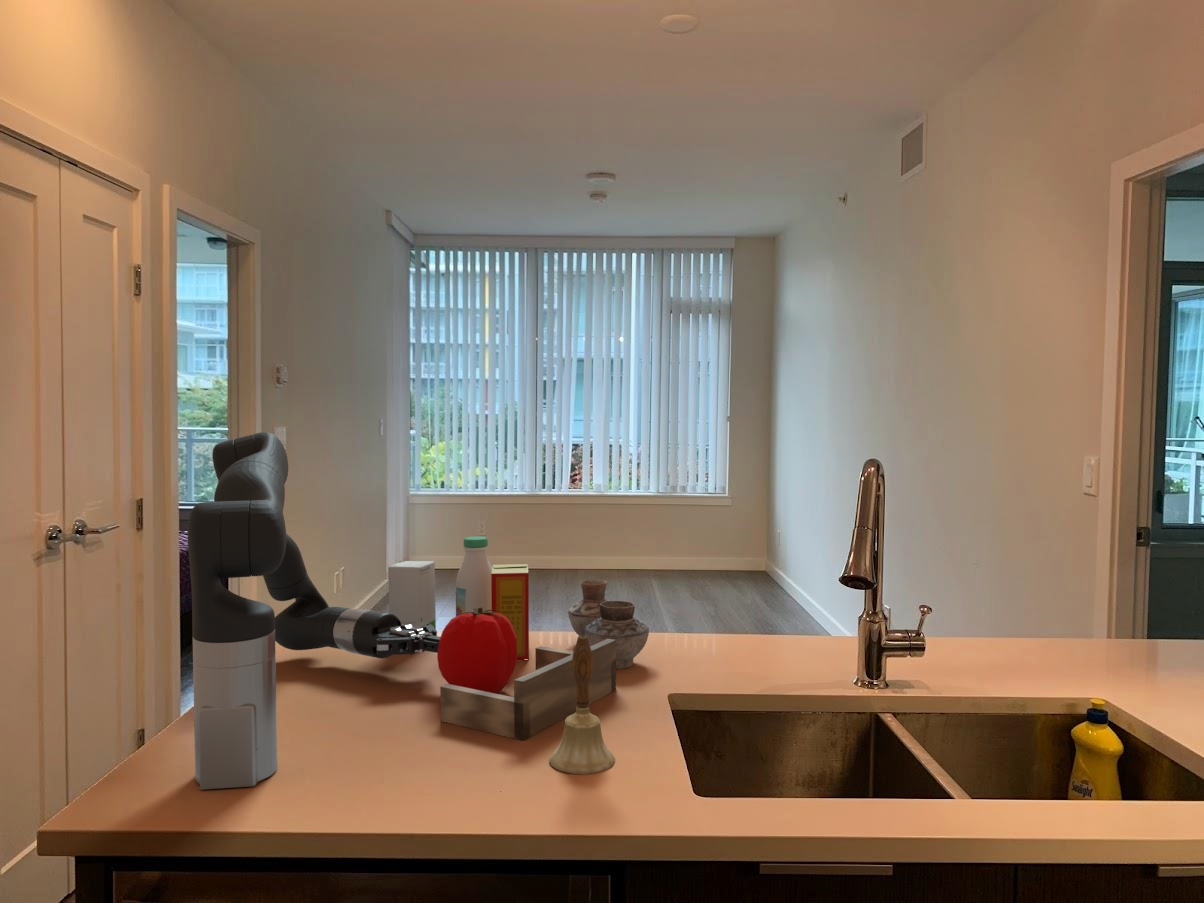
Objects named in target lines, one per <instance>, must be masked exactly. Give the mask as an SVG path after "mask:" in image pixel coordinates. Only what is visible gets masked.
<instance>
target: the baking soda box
mask: <svg viewBox="0 0 1204 903" xmlns="http://www.w3.org/2000/svg"><path fill="white" fill-rule="evenodd" d="M491 567H492V573H491V596H492V609H493V610H495V611H492V612H494V613H500V614H502V615H504V616H505V617H507V618H508V619H509V621H510V622H511V624H512V625H513V628H514V630H515V633H516V636H517V660H523V661H525V660H524V659H528V660H527V661H530V644H529V643H530V641H529V640H530V637H529V636H530V635H529V634H530V633H529V632H530V627H529V626H530V625H529V624H530V623H529V622H530V621H529V618H530V617H529V616H530V612H529V611H530V610H529V608H530V606H529V605H530V604H529V602H530V600H529V599H530V598H529V596H530V595H529V575H530V574H529V563H507V564H506V563H503V564H502V563H501V564H500V563H499V564H498V563H497V564H495V563H494V564H492V565H491ZM496 611H498V612H496Z"/></svg>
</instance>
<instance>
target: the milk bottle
mask: <svg viewBox="0 0 1204 903" xmlns="http://www.w3.org/2000/svg"><path fill="white" fill-rule="evenodd" d="M488 542H489V540H488V537H485V536H468V537H467V536H466V537H465V538H463V550H464V555H463V559H462V563H461V565H460V567H459V569H458V572H457V575H456V581H455V582H456V583H455V617H456V616H458V615H461V614H457V613H465V614H467V613H466V612H475V611H474V609H477V610H478V608H481V607H482V610H483V611H484V610H491V609H492V596H491V573H492V565H491V563H490V560H489V557H488V554H487V553H488V552H487V550H488V548H489V547H488V544H489V543H488ZM473 608H474V609H473ZM488 612H492V611H488ZM468 614H470V613H468Z"/></svg>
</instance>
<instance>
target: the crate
mask: <svg viewBox="0 0 1204 903" xmlns="http://www.w3.org/2000/svg"><path fill="white" fill-rule="evenodd" d="M590 647H591V651H592V655H593V669H592V675H591V678H590V682H589V705H591V704H593V703H595V702H597V701H598V700H600V699H601V698H604V697H606V696H607V695H609V694H612V693H614V692H615V691H617V669H616V640H614V639H606V640H604V641H601V642H599V643H597V644H595V645H592V646H590ZM573 652H574V650H573V651H572V650H566V649H561V648H560V649H559V648H555V647H554V648H553V647H548V646H543V645H542V646H538V647H536V648H535V658H534V661H535V662H534V663H535V670H533V671H531V672H529V673H527V674H525V675H523V676H520V677H518V678H515V679H514V680H513V689H514V690H513V692H514V695H513V696H509V695H504V694H501V693H500V694H499V693H490V692H485V691H480V690H475V689H470V688H466V687H461V686H456V685H451V684H448V683H446V684H443V685H441V686H439V688H440V689H439V691H440V692H439V693H440V698H439V699H440V700H439V701H440V703H439V706H440V708H439V709H440V722H443V723H446V722H447V724H450V723H451V724H450V725H456V726H459V727H463V726H464V728H467V727H468V728H469V729H472V730H477V731H482V732H485V733H490V734H493V735H498V736H501V737H502V736H503V737H507V738H511V739H515V740H520V741H526V740H527V739H530V738H531V737H533V736H534V735H536V734H538V733H540V732H542V731H544V730H546V729H547V728H549V727H551V726H553V725H554V724H557V723H558V722H560V721H562V720H564V719H566V718H567V717H568V716H570V715H572V714H575V713H576V693H577V686H576V681H575V677H574V673H573V666H572V658H573ZM468 728H467V729H468Z"/></svg>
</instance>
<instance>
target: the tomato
mask: <svg viewBox="0 0 1204 903" xmlns="http://www.w3.org/2000/svg"><path fill="white" fill-rule="evenodd" d="M473 609H474V608H473ZM474 611H475V612H466V613H467V614H465V613H457V614H461V615H458V616H456V615H455V616H454V617H452V618H451V619H450V620H449V622H447V624H446V625H445V627H444V628H443V630H442V632H441V635H440V636H439V637H440V641H439V647H438V653H437V664H438V665H437V666H438V669H439V672H440V674H441V676H442V678H443V679H444V680H445V681H446V683H447V684H451V685H456V686H461V687H466V688H470V689H475V690H480V691H485V692H490V693H495V694H498V692H500V691H501V690H503V689H504V688H505V687H506V686H507V685H508V683H509V681H510V678H511V677H512V675H513V673H514V670H515V667H516V664H517V636H516V633H515V630H514V628H513V625H512V624H511V622H510V621H509V619H508V618H507V617H505V616H504V615H502V614H500V613H494V612H488V611H495V610H493V609H491V610H484V611H483V610H482V607H481V608H478V610H477V609H474ZM496 612H498V611H496ZM468 613H470V614H468Z"/></svg>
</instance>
